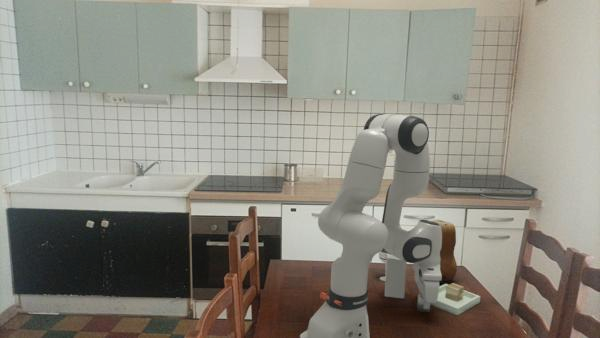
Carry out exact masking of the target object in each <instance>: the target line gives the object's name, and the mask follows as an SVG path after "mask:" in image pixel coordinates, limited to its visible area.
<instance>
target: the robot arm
mask: <svg viewBox="0 0 600 338" xmlns="http://www.w3.org/2000/svg"><path fill="white" fill-rule="evenodd" d="M429 137H430V131H429V127H428V124H427V122H426V121H425V120H424V119H423V118H421V117H418V116H415V115H406V114H400V113H385V114H384V113H378V114H374V115H371V116H370V117H369V118H368V119H367V120H366V122H365V124H364V126H363V130H361V131H360V132H359V133H358V134H357V136H356V138H355V141H354V143H353V145H352V148H351V151H350V154H349V158H348V162H347V166H346V170H345V173H344V178H343V182H342V184H341V187H340V189H339V191H338V192H337V195H336V196H335V197H334V200H332V202H331V203H330V204H329V205H327V206H325V207H324V208H323V209H322V210H321V212H320V213H319V214H318V220H317V223H318V224H317V225H318V228H319V230H320V231H321V233H323V234H324V235H325V236H326V237H327V238H328V239H330V240H331V241H334V242H337V243H338V244H341V246H342V252H341V255H340V257H338V258H336V259H334V260H333V262H332V264H331V266H330V267H331V268H330V269H331V270H330V286H329V287H328V290H327V293H326V292H325V291H322V292H320V294H319V298H320V299H321V300H324V302H323V304H322V305H321V306H320V307H319V308H318V310H317V311H316V312H314V314H313V316H311V317H310V320H309V322H308V325H307V326H308V327H307V329H306V330H305V331H303V332H302V333H300V335H299V338H371V337H370V336H371V333H370V325H369V323H370V322H369V315H368V314H369V313H368V309H367V304H368V301H369V290H368V287H367V286H368V278H369V277H368V276H369V270H370V269H369V268H370V265H371V262H372V260H373V258H374V256H376V255H377V254H379V252H380V251H383V252H385V253H388V254H390V255H393V256H395V257H397V258H399V259H402V260H404V261H406V262H407V263H409V264H412V265H413V266H412V270H413V271H414V281H415V283H416V285H417V287H418V294H419V293H421V294H422V296H423V298H424V302H423V308H424V309H429V304H430V303H436V302H437V299H438V293H439V286H440V282H439V281H441V279H442V275H441V270H440V260H441V258H440V250H441V247H442V229H441V226H440V225H439V224H438V223H436V222H433V220H430V219H429V220H428V219H419V220H418V222H417V224H416V225H415V226H414V227H413V228H412V229H410V230H406V229H403V228H402V227H401V225H400V222H401V221H400V220H401V216H402V210H403V204H404V202H405V201H406V200H408V199H410V198H416V197H418V196H420V195H421V194H422V193H423V192H424V191H426V190H427V188H428V185H429V181H430V172H431V171H430V167H431V164H430V162H431V161H430V149H429V143H428V141H429ZM391 150H392V151H394V153H395V158H394V159H395V160H394V171H393V173H394V174H393V179H392V181H391V183H390V184H389V186H388V187H387V191H386V196H385V200H384V201H385V202H384V207H383V213H382V219H381V221H380V220H379V219H377V218H376V217H375V216H373V215H370V214H367V213H363V211H364V208H366V205H367V204H368V203H369V201H370V200H371V201H372V200H373V199H375V198H377V197H378V195H379V194H380V190H381V187H382V183H383V178H384V175H385V170H386V166H387V161H388V160H387V159H388V155H389V153H390V151H391Z"/></svg>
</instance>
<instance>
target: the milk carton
mask: <svg viewBox="0 0 600 338" xmlns="http://www.w3.org/2000/svg"><path fill="white" fill-rule="evenodd" d="M407 263H408V262H406V261H404V260H402V259H399V258H397V257H395V256H393V255H390V254H388V253H387V260H386V264H385V270H386V277H385V281H384V282H385V283H384V297H387V298H394V299H405V289H406V276H407Z"/></svg>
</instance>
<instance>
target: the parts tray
mask: <svg viewBox="0 0 600 338" xmlns="http://www.w3.org/2000/svg"><path fill="white" fill-rule="evenodd" d="M447 285H449V284H448V283H443V284H442V285H439V293H438V299H437V302H436V303H430V306H433V307H435V308H437V309H441V310H442V311H444V312H447V313H449V314H452V315H455V316H460V315H461V314H462V313H464V312H466V311H468V310H470V309H472V308H473V307H475V306H477V305H478V304H480V302H481V295H478V294H475V293H473V292H470V291H468V290H465V289H464V293H463V299H461V300H459V301H457V302H455V301H453V300H450V299H448V298H445V295H446V286H447Z"/></svg>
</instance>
